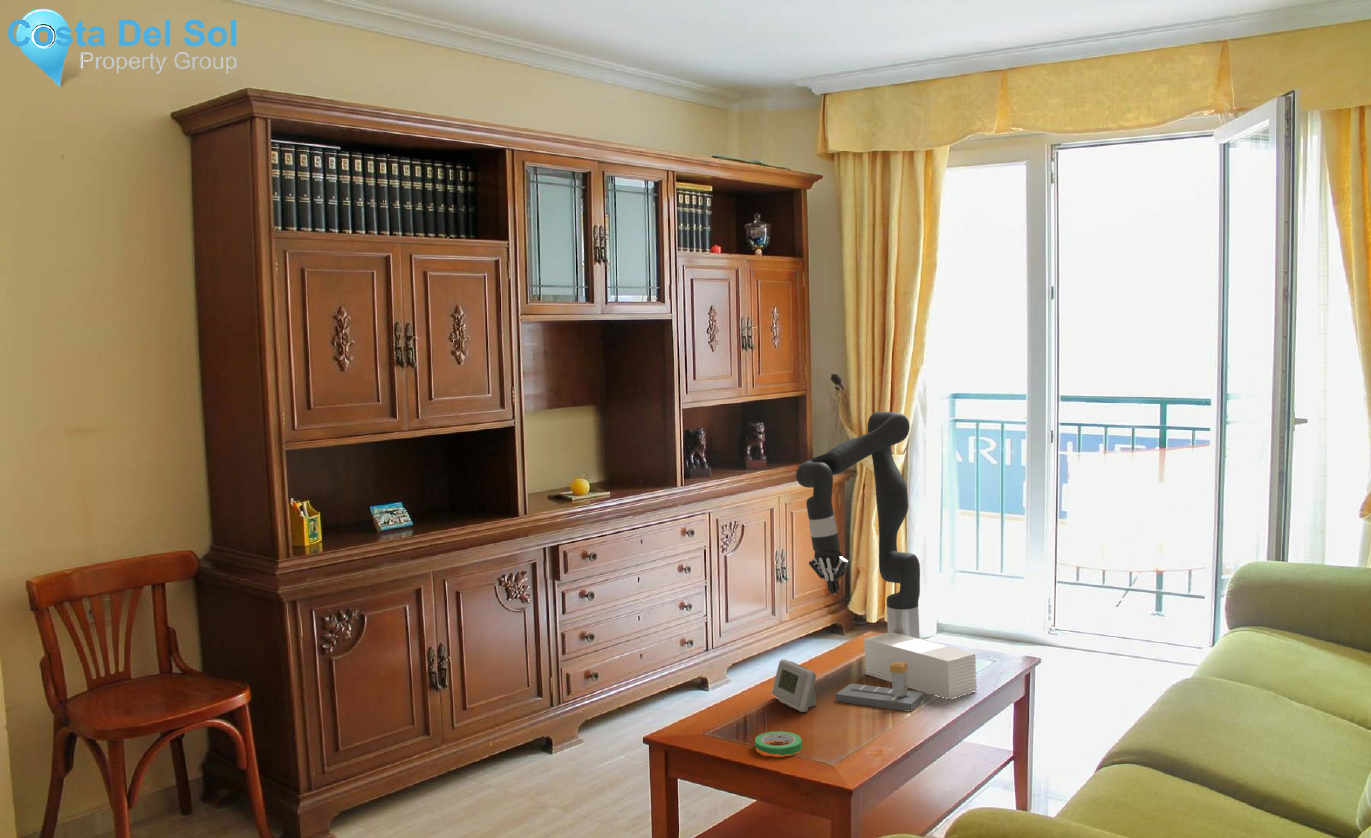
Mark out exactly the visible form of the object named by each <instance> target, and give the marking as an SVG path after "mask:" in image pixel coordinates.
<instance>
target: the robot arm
mask: <svg viewBox="0 0 1371 838" xmlns="http://www.w3.org/2000/svg"><path fill="white" fill-rule="evenodd" d="M910 426H911V425H910V421H909V418H908V417H906V415H905V414H903V413H900V412H895V411H876V412H874V413H872V414H871V415H870V416H869V418H868V422H867V428H866V429H867V433H865V434H862V435H859V436H856V437H855V438H851V439H848V440H845V441H843V442H841V443H840V444H838V445H837V446H835V447H833V448H831V449H829V450H828V451H826V452H825V453H823V454H821V455H818V456H815V457H812V458H810V459H808V460H806V461H804V462H803V463H802V464H800V465H799V466H798V468H797V470H796V473H795V478H796V481H797V483H798V484H799V485H800V486H802V487H804V488H810V489H811V488H812V490H813V493H812V496H809V497H808V498H807V500H806V502H805V503H806V510H807V517H808V525H809V534H810V539H811V543H812V551H814V555H813V556H814V558H812V560H810V561H809V562H808V564H809V566H810V567H811V569H812V570H813V571H814V572H815V573H816V575H817V576H818V577H819V578H820V579H824V580H825V581H826V583H827V590H828V592H829V594H831V595H832V594H833V595H836V594H837V593H839V591H840V584H839V579H840V578H842V577H844V575H845V573H846V571H847V568H848V567H849V565H850V562H851V560H850V559H846V558H844V557H843V554H842V553H841V550H840V546H841V545H840V538H839V532H838V526H837V522H836V519H835V515H834V509H833V503H832V497H833V488H834V487H833V485H834V476H836V475H839V474H842V473H843V472H845V471H847V469H849V468H851V467H852V466H854V465H855V464H858V462H861V461H862V460H864V459H866V458H867V457H869V456H871V459H872V465H873V475H874V483H875V487H874V488H875V498H876V501H875V503H876V508H877V521H878V522H877V523H878V537H879V538H878V568H879V569H878V570H879V573H880V577H881V578H882V579H883V581H885V582H889V583H894V584H899V591H897V592H895V593H891V594H889V595H888V596H887V597H886V615H887V616H886V618H887V620H886V621H887V632H894V633H898V634H902V635H906V636H910V637H914V638H918V639H921V638H920V637H921V635H920V633H921V632H920V616H919V615H920V614H919V613H920V612H919V611H920V610H919V600H920V595H921V564H920V561H919V558H918V557H917V555H916V554H914V553H910V552H902V551H898V547H897V538H898V532H899V529H900V528H901V526H902V524H903V522H904V520H905V519H906V515H907V514H908V512H909V510H908V509H909V496H908V494H909V493H908V487H907V483H906V481H905V479H904V477H903V475H902V473H901V472H900V470H899V467H898V466H897V464H896V463H895V459H894V456H893V454H892V453H893V452H892V446H894V445H896V444H899V443H902V442H903V441H904V440H905V439H907V437H908V435H909V432H910V428H911V427H910Z"/></svg>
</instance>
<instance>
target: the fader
mask: <svg viewBox="0 0 1371 838" xmlns="http://www.w3.org/2000/svg"><path fill="white" fill-rule="evenodd" d="M907 670H908V663H902V662H893V663H892V664H891V665H890V672H891V673H892V682H891V689H892V696H898V697H904V696H905V695H907V691H908V687H907V673H906V671H907Z"/></svg>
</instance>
